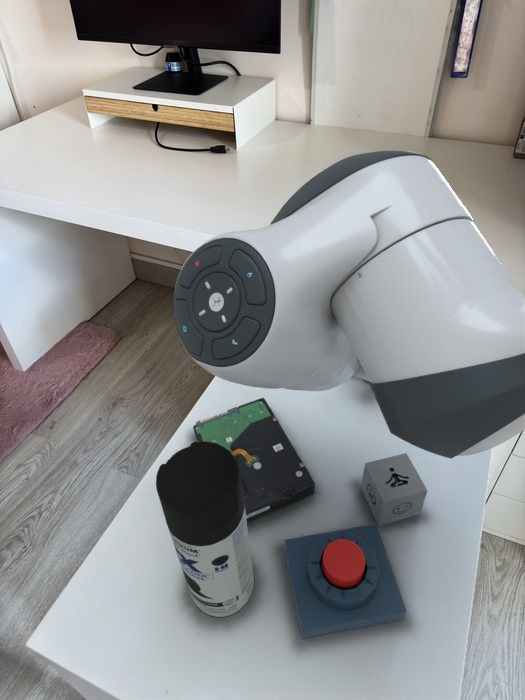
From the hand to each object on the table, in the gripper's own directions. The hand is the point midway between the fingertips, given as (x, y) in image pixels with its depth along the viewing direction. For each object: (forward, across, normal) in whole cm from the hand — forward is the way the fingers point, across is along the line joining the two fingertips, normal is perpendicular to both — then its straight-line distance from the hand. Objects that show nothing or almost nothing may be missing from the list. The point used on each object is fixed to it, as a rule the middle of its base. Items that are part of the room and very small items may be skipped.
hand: (350, 352), depth 54 cm
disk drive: (+5, +8, +17) cm, 20 cm away
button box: (0, -7, +23) cm, 24 cm away
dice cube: (+8, -8, +15) cm, 19 cm away
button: (-3, -7, +20) cm, 22 cm away
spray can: (-4, +3, +27) cm, 28 cm away
